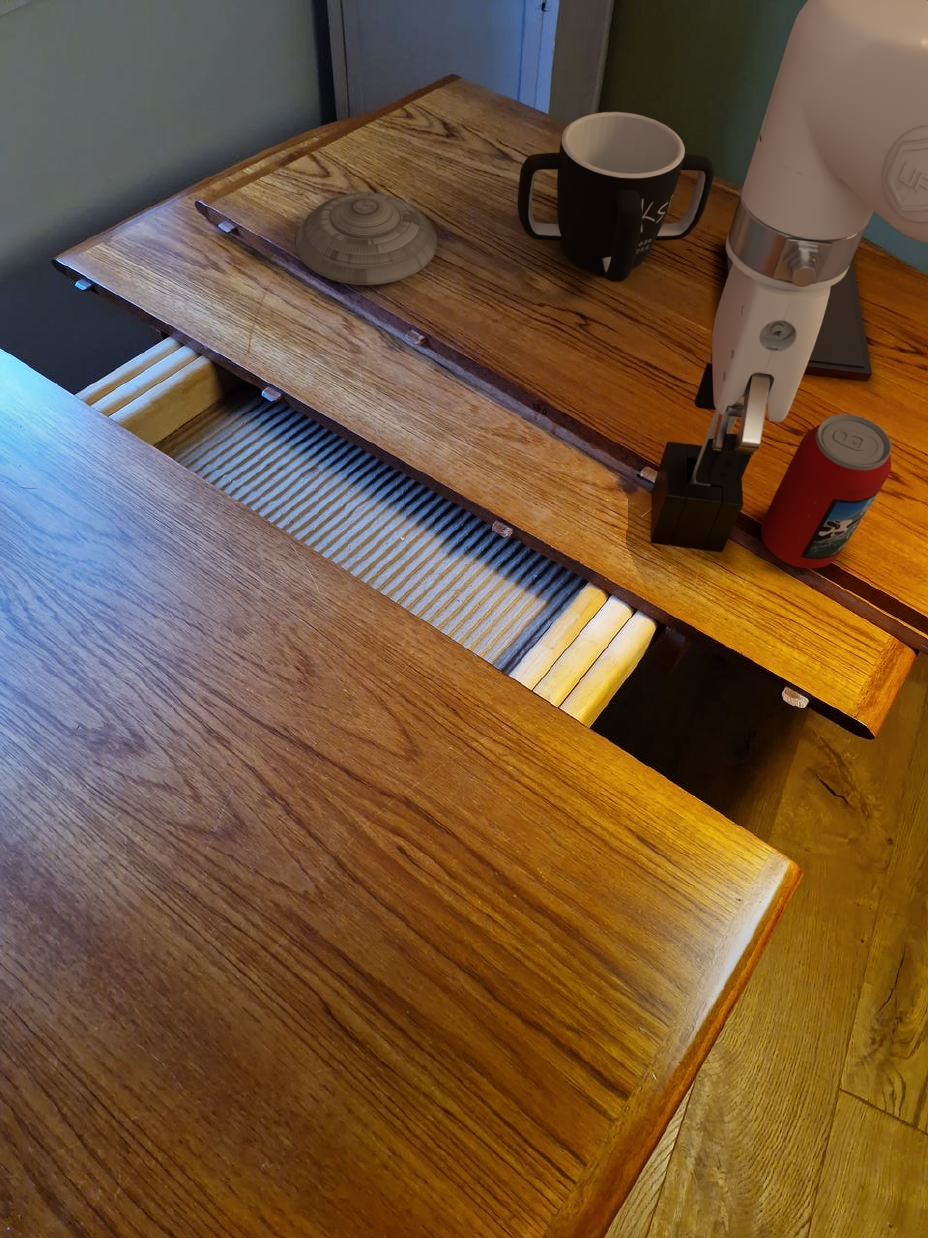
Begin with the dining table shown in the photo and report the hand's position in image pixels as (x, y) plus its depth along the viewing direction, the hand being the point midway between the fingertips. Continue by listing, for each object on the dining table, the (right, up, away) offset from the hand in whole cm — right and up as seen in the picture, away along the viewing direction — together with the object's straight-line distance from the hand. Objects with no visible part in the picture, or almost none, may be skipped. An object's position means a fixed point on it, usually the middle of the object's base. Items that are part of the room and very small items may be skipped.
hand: (715, 442), depth 68 cm
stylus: (0, -5, +8) cm, 9 cm away
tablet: (+15, +19, +24) cm, 34 cm away
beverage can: (+9, -7, +7) cm, 13 cm away
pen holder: (0, -5, +8) cm, 9 cm away
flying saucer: (-30, +26, +27) cm, 48 cm away
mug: (-4, +26, +29) cm, 39 cm away
